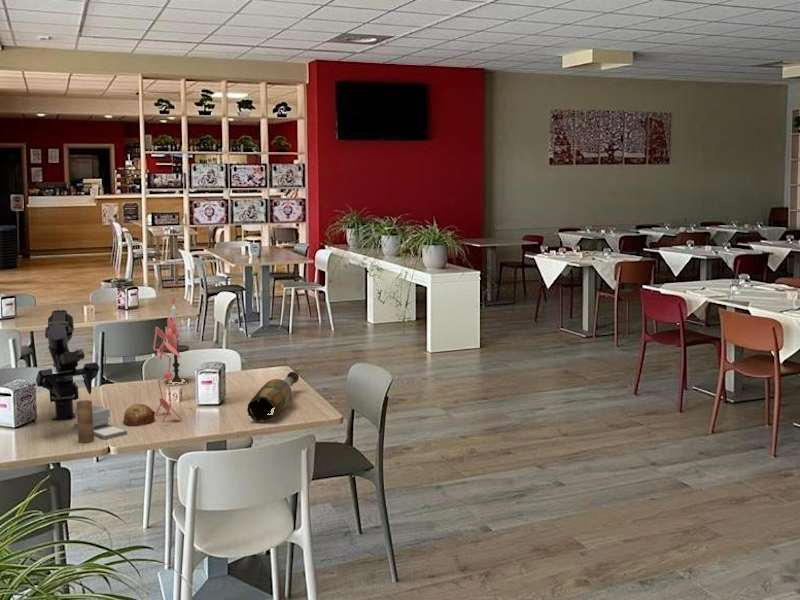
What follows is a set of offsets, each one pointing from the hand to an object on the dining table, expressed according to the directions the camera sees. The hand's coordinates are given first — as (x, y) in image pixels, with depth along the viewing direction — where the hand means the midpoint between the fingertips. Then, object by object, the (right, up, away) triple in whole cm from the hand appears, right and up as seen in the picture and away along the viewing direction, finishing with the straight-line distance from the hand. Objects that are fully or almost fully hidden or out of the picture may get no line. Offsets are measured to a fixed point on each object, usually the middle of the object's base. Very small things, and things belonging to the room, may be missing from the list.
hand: (75, 395), depth 273 cm
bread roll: (+15, -11, +18) cm, 26 cm away
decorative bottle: (+59, -8, +36) cm, 70 cm away
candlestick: (+13, -3, +72) cm, 73 cm away
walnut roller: (+5, -14, -3) cm, 15 cm away
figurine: (+26, -10, +24) cm, 37 cm away
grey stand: (+5, -12, +7) cm, 15 cm away
